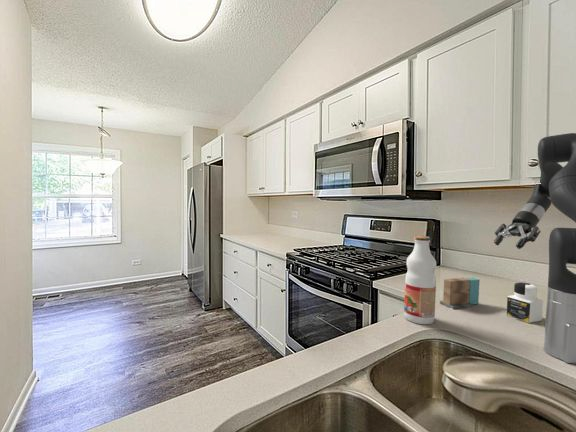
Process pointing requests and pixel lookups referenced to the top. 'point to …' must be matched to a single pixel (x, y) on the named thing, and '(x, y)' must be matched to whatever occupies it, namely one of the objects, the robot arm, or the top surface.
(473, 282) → the teal block
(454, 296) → the brown block
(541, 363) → the top surface
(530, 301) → the medicine bottle
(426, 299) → the fruit juice
